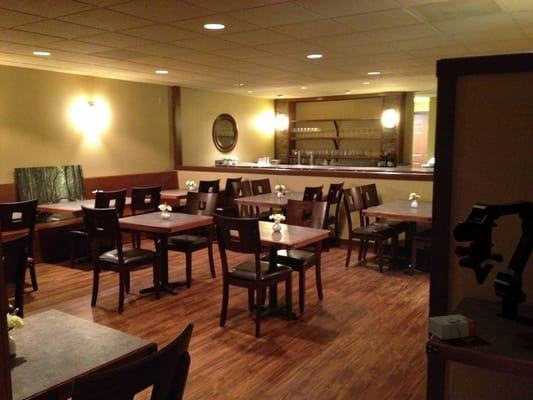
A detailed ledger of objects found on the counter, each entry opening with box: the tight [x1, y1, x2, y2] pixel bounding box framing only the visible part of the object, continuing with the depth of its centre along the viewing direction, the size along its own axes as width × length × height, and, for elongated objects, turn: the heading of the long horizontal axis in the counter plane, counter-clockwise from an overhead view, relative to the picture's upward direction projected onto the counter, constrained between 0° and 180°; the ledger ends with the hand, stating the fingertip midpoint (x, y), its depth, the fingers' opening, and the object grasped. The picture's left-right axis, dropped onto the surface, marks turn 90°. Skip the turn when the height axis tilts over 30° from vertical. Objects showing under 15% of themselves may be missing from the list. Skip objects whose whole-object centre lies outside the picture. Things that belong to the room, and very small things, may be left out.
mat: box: [456, 336, 477, 343], centre depth 146 cm, size 4×6×1 cm
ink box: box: [427, 314, 477, 341], centre depth 149 cm, size 9×5×12 cm
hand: (479, 284), depth 160 cm, fingers closed
